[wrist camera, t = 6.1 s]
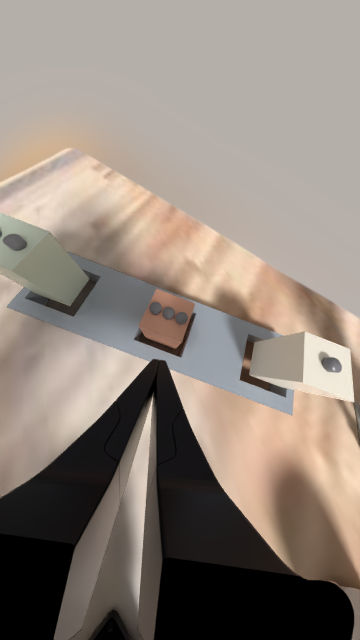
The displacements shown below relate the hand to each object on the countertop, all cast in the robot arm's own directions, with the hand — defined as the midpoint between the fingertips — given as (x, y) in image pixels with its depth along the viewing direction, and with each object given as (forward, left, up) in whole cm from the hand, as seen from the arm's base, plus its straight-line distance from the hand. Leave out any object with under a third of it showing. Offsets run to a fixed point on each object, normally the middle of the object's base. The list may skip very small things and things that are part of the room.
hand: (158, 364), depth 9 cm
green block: (-4, +16, -8) cm, 18 cm away
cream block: (+11, -9, -8) cm, 16 cm away
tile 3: (+4, +3, -11) cm, 12 cm away
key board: (+4, +3, -11) cm, 12 cm away
